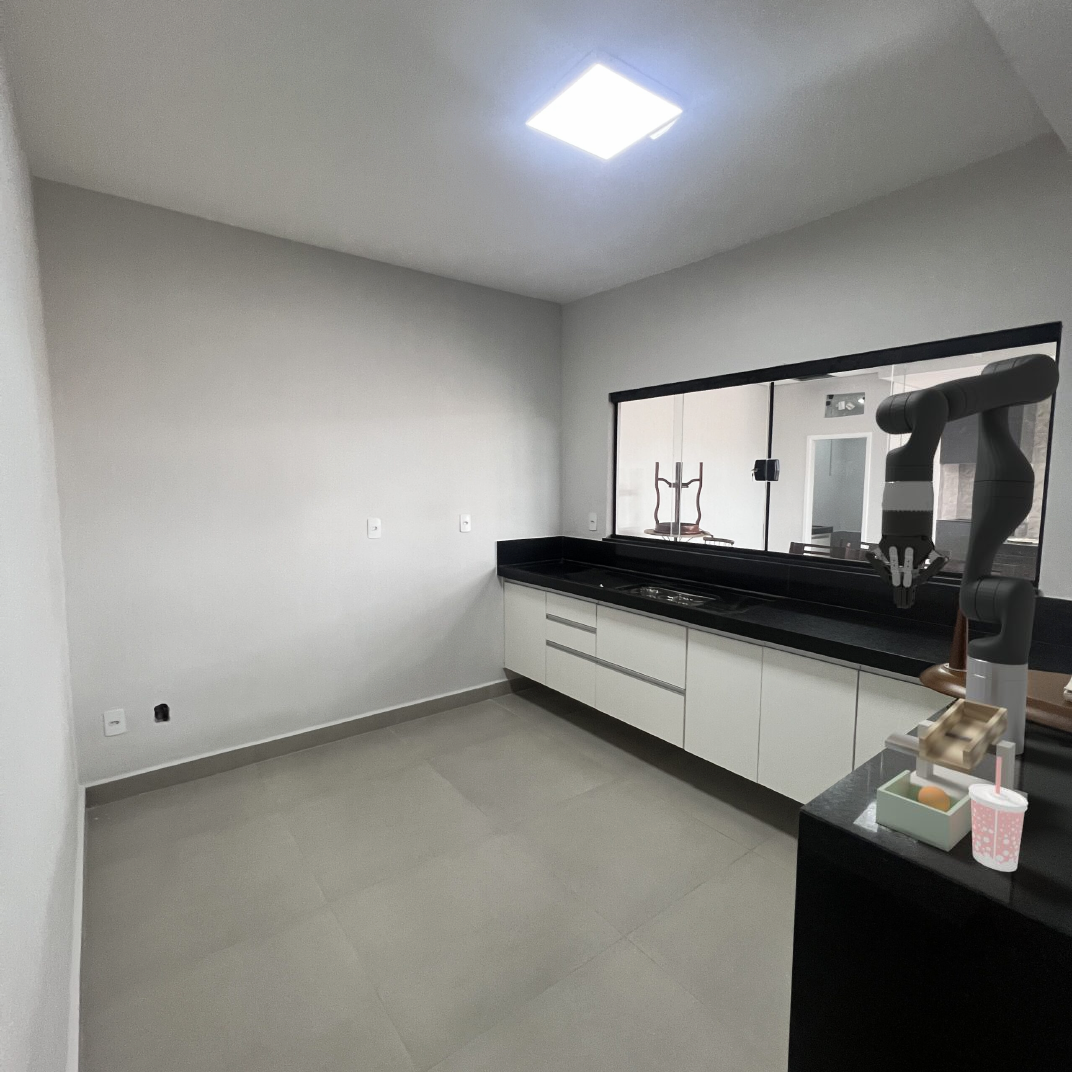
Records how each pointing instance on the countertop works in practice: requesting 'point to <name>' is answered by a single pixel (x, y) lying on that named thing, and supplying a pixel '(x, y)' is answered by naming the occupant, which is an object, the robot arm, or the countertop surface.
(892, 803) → the cup
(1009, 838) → the beverage cup
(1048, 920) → the countertop surface
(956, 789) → the pivot stand
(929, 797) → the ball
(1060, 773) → the countertop surface
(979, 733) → the tipping chute
